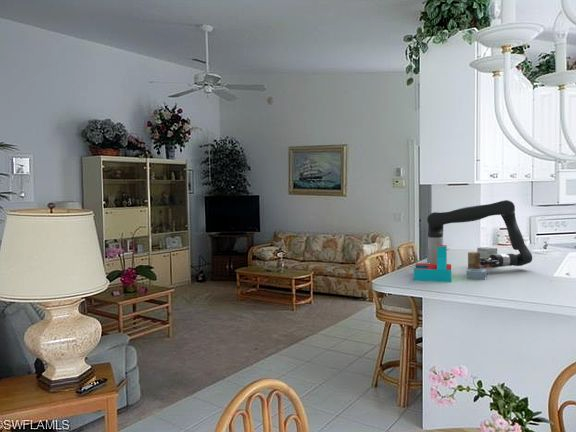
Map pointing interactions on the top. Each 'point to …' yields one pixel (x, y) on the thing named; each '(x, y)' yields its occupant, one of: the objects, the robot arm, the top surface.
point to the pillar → (473, 260)
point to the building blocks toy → (434, 268)
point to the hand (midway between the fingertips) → (475, 262)
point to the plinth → (476, 274)
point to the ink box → (486, 253)
